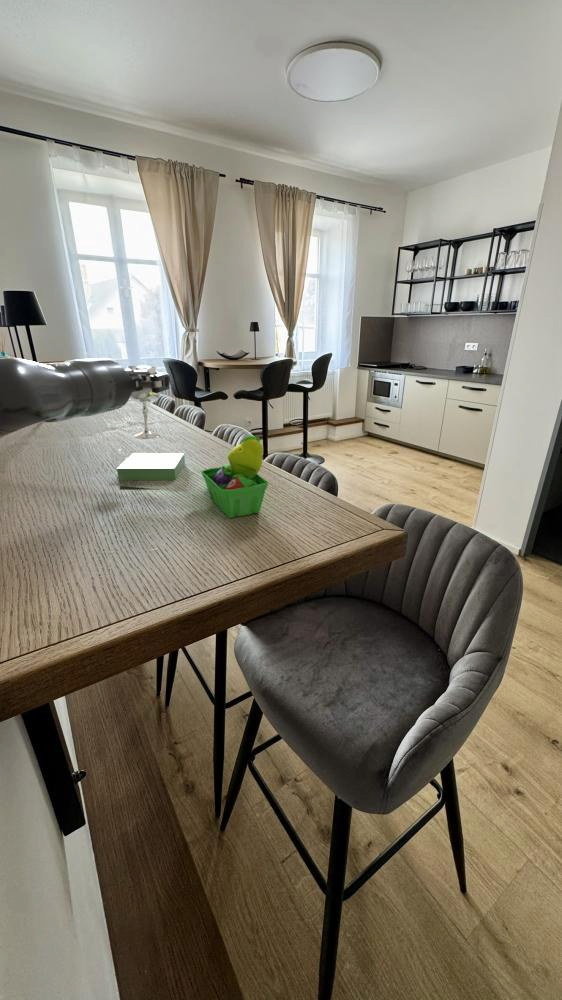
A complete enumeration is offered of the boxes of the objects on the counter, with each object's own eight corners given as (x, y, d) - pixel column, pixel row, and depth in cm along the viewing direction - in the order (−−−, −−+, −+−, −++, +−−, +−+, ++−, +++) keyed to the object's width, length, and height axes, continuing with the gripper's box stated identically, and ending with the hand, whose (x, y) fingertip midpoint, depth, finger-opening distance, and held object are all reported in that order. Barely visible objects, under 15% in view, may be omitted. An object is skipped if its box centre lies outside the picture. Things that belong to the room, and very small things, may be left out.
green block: (119, 489, 73) (116, 468, 72) (135, 472, 82) (132, 453, 81) (176, 489, 74) (174, 468, 72) (185, 472, 83) (184, 453, 82)
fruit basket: (201, 498, 70) (196, 432, 66) (248, 490, 74) (247, 428, 70) (224, 523, 61) (220, 449, 56) (277, 513, 64) (278, 442, 60)
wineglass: (170, 436, 75) (166, 367, 71) (145, 441, 71) (140, 368, 66) (148, 431, 78) (143, 365, 74) (123, 436, 73) (116, 365, 69)
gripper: (133, 360, 55) (186, 356, 70) (41, 357, 58) (111, 354, 73) (139, 416, 58) (189, 401, 73) (51, 411, 61) (116, 397, 76)
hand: (150, 377), depth 73 cm, fingers closed on wineglass, 5 cm apart
